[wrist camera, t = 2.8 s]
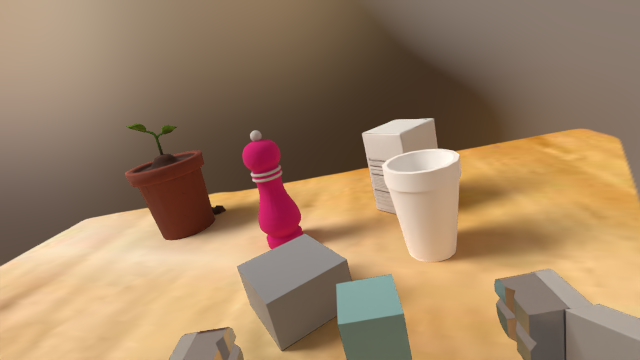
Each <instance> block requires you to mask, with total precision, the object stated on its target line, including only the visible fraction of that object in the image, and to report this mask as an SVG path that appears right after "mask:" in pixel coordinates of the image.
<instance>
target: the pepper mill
mask: <svg viewBox="0 0 640 360" xmlns="http://www.w3.org/2000/svg"><path fill="white" fill-rule="evenodd" d="M250 138H251V139H252V141H253V142H251V143H249V144H248V145H247V146H246V147H245V148H244V150H243V161H244V164H245V166H246V167H248V168H249V169H250V170H251V171H252V173H251V176H252V178H253V181H254V182H256V184H257V186H258V189H259V194H260V206H259V214H258V215H259V225H260V228H261V230H262V231H263V232H265V233H266V234H268V235H267V241H268V244H269V247H270V248H271V249H274V248H276V247H278V246H280V245H282V244H285V243H287V242H289V241H291V240H293V239H295V238H297V237H299V236H301V235H303V232H302V228H301V227H300V226H299V225H298V224H299V223H300V220H301V214H300V211H299V209H298V207H297V205H296V204H295V202H294V201H293V200H292V199H291V198H290V196H289V195H288V194H287V192H286V190H285V189H284V186H283V183H282V180H281V174H282V171H281V169H280V168H281V166H280V165H278V162H279V159H280V151H279V148H278V146H277V145H276V144H275V143H274V142H273V141H271V140H267V139H261V133H260V132H259V131H253V132H252V133H251V134H250Z"/></svg>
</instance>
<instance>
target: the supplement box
mask: <svg viewBox="0 0 640 360" xmlns="http://www.w3.org/2000/svg"><path fill="white" fill-rule="evenodd" d="M362 136H363V141H364V145H365V151H366V156H367V161H368V165H369V171H370V176H371V181H372V186H373V191H374V196H375V201H376V206H377V209H378V210H382V211H386V212H390V213H394V214H396V210H395V207H394V204H393V201H392V198H391V195H390V192H389V189H388V188H387V186H386V184H385V180H384V174H383V169H382V165H383V164H384V163H385V162H386V161H387V160H389V159H391V158H393V157H395V156H397V155H401V154H404V153H408V152H412V151H419V150H426V149H438V148H437V140H436V133H435V125H434V119H432V118H430V119H407V120H406V119H400V120H394V121H391V122H389V123H386V124H384V125H382V126H379V127H377V128H374V129H372V130H369V131H367V132H364V133H362Z"/></svg>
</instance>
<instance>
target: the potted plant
mask: <svg viewBox="0 0 640 360" xmlns="http://www.w3.org/2000/svg"><path fill="white" fill-rule="evenodd" d="M127 128H130V129H134V130H138V131H142V132H147V133H150V134H152V135H154V136H155V138H156V142H157V144H158V148H159V151H160V154H161V155H160V156H158V157H157V158H155V159H154V161H151V162H148V163H146V164H143V165H140V166H138V167H136V168H133V169H131V170H129V171H128V172H126V173H125V176H126V177H127V179H128V181H129V182H130V184H131V186H133V187H138V188H139V190H140V192H141V194H142V196H143V198H144V200H145V202H146V204H147V206H148V208H149V210H150V212H151V214H152V216H153V218H154V219H155V221H156V223H157V225H158V227H159V229H160V231H161V233H162V235H163V237H164V238H165V239H166V240H177V239H182V238H186V237H189V236H191V235H194V234H196V233H198V232H200V231H203V230H204V229H206V228H207V227H209V226H210V225H211V224H212V223H213V222H214V220H215V218H214V214H220V213H222V212H224V211H225V209H224V207H223V206H217V205H216V207H215V208H214V207H211V204H210V200H209V197H208V193H207V189H206V186H205V183H204V179H203V176H202V172H201V168H200V167H201V166H202V165H203V164H204V161H203V157H202V152H201V151H189V152H184V153H179V154H175V155H171V154H163V152H162V149H161V146H160V143H159V141H158V137H159V136H160V135H162V134H167V133H170V132H171V131H173V129H175V128H176V127H173V126H169V125H166V126H163V127H162V128H161V132H162V133H161V134H159V135H158V136H156V135H155V134H154V133H153V132H150V131H146V128H145V127H144V126H143V125H141V124H134V125H131V126H127ZM213 213H214V214H213Z"/></svg>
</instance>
